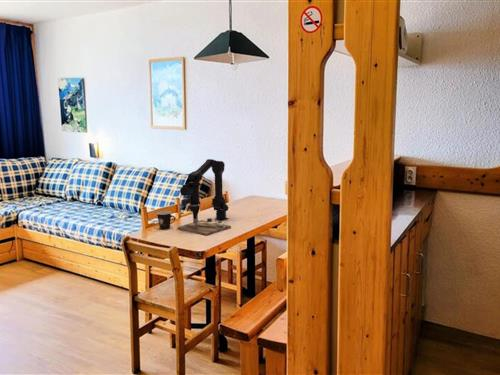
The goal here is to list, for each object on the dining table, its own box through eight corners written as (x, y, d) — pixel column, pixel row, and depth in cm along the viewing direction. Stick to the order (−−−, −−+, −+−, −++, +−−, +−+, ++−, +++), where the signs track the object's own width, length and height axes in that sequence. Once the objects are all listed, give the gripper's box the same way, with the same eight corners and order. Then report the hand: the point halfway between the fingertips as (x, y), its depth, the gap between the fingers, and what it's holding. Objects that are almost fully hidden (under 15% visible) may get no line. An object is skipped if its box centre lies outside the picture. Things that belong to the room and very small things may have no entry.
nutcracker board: (201, 222, 292) (201, 215, 292) (230, 228, 276) (230, 221, 275) (177, 229, 277) (177, 222, 276) (206, 235, 260) (206, 228, 259)
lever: (224, 224, 274) (224, 211, 272) (222, 226, 270) (221, 213, 268) (194, 223, 279) (194, 210, 277) (192, 225, 275) (191, 212, 273)
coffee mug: (155, 228, 280) (154, 213, 278) (167, 225, 286) (166, 210, 284) (164, 231, 271) (163, 216, 270) (176, 229, 277) (175, 213, 275)
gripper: (182, 191, 282) (183, 215, 285) (180, 196, 264) (181, 221, 266) (200, 191, 283) (200, 215, 285) (199, 196, 265) (199, 221, 267)
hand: (195, 218), depth 276 cm, fingers open, 4 cm apart
